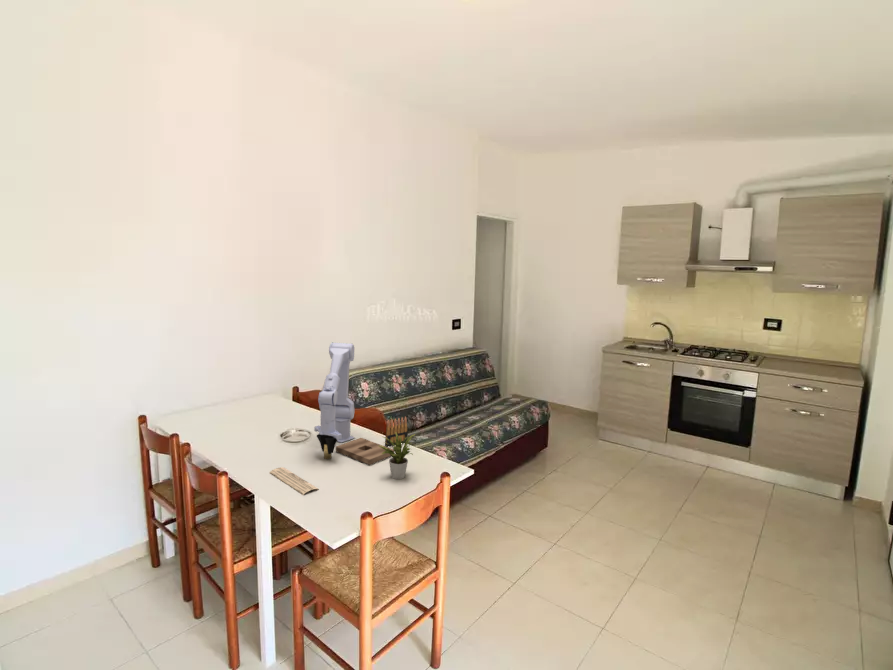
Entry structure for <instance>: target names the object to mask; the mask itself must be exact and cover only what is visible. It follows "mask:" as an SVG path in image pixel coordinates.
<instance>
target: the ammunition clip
mask: <svg viewBox="0 0 893 670" xmlns="http://www.w3.org/2000/svg"><path fill="white" fill-rule="evenodd" d="M407 420H408V419H407V416H404V417H403V416H401V419H400V417H398V419H397V418H394V420H393V418H391V419H390V420H389V419H387V421H386V430H385V436H384V437H385V438H384V446H385V447H388V446H389V447H392V446H393V445H391V444H392V443H390V442H389V440H388V439H390V440H391V441H392V442H393V443H394V445H396V444H395V442H396V433H397V434H398V440H399V438H400V436H401V438H402V443H403V441H404V439H405V438H406V437H408V438H409V435H408V434H409V433H408V432H409V431H408V423H407V422H408V421H407ZM386 438H388V439H386ZM408 438H406V439H405V441H404V443H403V444H405V442H406V440H407V439H408ZM385 439H386V440H385ZM393 439H394V440H395V442H394V440H393ZM385 442H386V443H385ZM387 443H388V444H387ZM389 447H388V448H389ZM393 447H394V446H393Z"/></svg>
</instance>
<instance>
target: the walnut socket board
mask: <svg viewBox="0 0 893 670" xmlns="http://www.w3.org/2000/svg"><path fill="white" fill-rule="evenodd" d="M379 446H383V447H386V446H385V445H382V444H379V443H377V442H374V441H371V440H369V439H365V438H363V437H359V438H355V439H352V440H349V441H348V442H347V441H346V442H343V443H342V444H339V445H335V453H337V454H340V455H342V456H345V457H347V458H350V459H352V460H354V461H356V462H360V463H362V464H364V465H367V466H372V465H375V464H378V463H379V462H382V461H384V460H387V459H389V458H392V456H391V455H390V454H389V453H385V454H382V453H383V452H384V451H385V450H384V449H383V448H381V447H379ZM386 448H388V449H390V450H392V451H393V452H394V450H393V448H392V447H391V448H390V447H386ZM394 453H395V452H394Z"/></svg>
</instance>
